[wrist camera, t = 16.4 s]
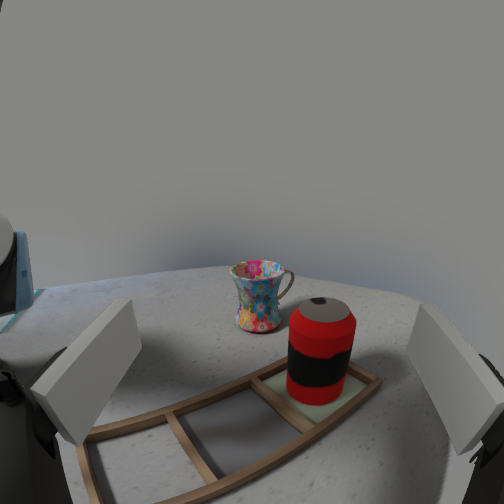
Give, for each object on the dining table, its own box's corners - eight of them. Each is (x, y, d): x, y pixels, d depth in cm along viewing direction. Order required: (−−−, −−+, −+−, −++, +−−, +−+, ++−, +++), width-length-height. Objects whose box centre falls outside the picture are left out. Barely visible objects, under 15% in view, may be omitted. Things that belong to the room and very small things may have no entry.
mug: (245, 342, 44) (243, 283, 41) (225, 317, 52) (222, 265, 49) (306, 324, 49) (309, 269, 46) (280, 304, 57) (280, 255, 54)
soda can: (331, 364, 37) (341, 290, 33) (351, 399, 29) (370, 320, 26) (280, 373, 36) (282, 297, 32) (293, 412, 29) (301, 332, 25)
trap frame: (77, 438, 22) (72, 431, 21) (315, 348, 41) (315, 341, 41) (105, 528, 11) (98, 524, 11) (380, 387, 31) (383, 379, 31)
